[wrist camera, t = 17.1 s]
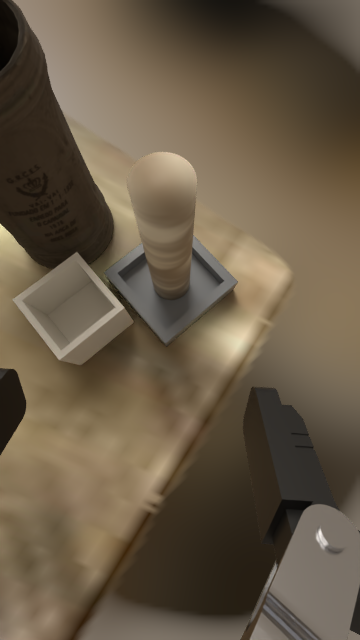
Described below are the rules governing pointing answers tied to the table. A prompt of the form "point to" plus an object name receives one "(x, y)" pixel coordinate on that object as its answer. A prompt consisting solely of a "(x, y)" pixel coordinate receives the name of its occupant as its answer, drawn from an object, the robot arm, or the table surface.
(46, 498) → the table surface
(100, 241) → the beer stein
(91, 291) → the light grey square box
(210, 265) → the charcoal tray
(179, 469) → the table surface
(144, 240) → the birch pin
